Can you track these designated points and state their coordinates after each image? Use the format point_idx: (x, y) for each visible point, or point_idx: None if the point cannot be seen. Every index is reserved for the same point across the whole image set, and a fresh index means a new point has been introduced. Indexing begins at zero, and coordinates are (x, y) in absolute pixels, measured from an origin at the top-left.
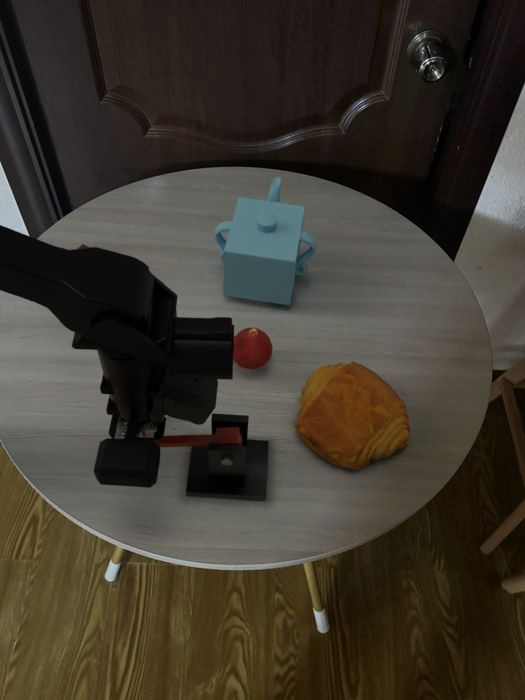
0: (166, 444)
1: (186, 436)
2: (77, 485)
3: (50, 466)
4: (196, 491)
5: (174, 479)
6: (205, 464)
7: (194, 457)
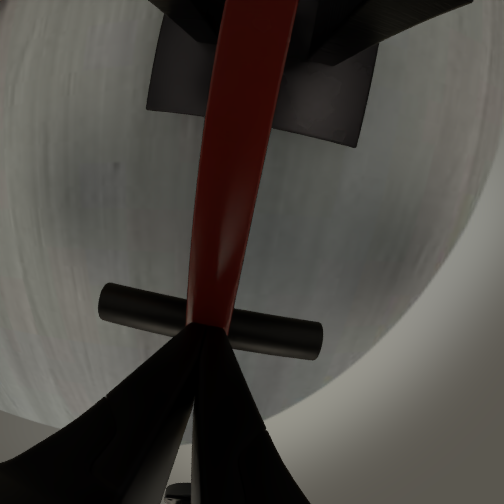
0: (242, 258)
1: (213, 144)
2: (265, 382)
3: None
4: (358, 113)
5: (287, 172)
6: None
7: None
